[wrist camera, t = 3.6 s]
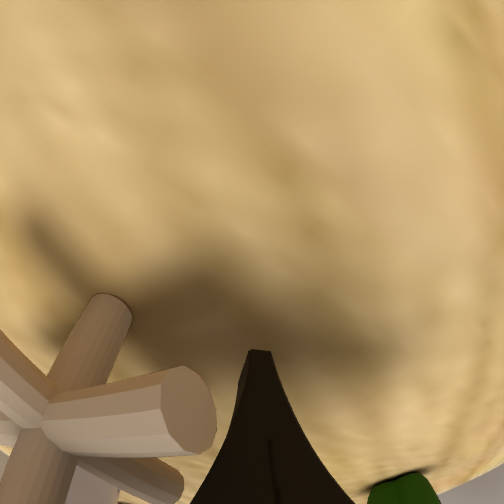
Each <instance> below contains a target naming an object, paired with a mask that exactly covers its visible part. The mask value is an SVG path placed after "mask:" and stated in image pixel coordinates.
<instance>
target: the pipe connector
mask: <svg viewBox="0 0 504 504" xmlns="http://www.w3.org/2000/svg"><path fill="white" fill-rule="evenodd" d="M131 322H132V315H131V312H130V310H129V308H128V307H127V306H126V305H125V304H124V303H123V302H122V301H121V300H119V299H118V298H116V297H114V296H112V295H109V294H97V295H94V296H93V297H92V298H91V299H90V301H89V303H88V304H87V306H86V308H85V309H84V311H83V313H82V314H81V316H80V318H79V319H78V321H77V323H76V324H75V326H74V328H73V330H72V331H71V333H70V335H69V336H68V338H67V340H66V342H65V344H64V345H63V347H62V349H61V351H60V353H59V354H58V356H57V358H56V360H55V362H54V364H53V365H52V367H51V369H50V371H49V373H48V375H47V376H46V375H45V374H44V373H43V372H42V371H40V370H39V369H38V368H37V367H36V366H35V365H34V364H33V363H32V362H31V361H30V360H29V359H28V358H27V357H26V356H25V355H24V354H23V353H22V352H21V351H20V350H19V349H18V348H17V347H16V346H15V345H14V344H13V343H12V342H11V341H10V340H9V338H8V337H7V336H6V335H5V334H4V333H3V332H2V331H1V330H0V445H3V446H8V447H13V450H12V453H11V455H10V458H9V460H8V463H7V465H6V468H5V471H4V473H3V476H2V478H1V481H0V504H65V502H66V498H67V495H68V491H69V488H70V485H71V481H72V478H73V475H74V472H75V469H76V466H79V467H80V468H82V469H84V470H85V471H87V472H89V473H91V474H92V475H94V476H96V477H98V478H100V479H101V480H103V481H105V482H107V483H109V484H111V485H113V486H115V487H117V488H119V489H121V490H123V491H125V492H127V493H129V494H131V495H133V496H135V497H138V498H140V499H142V500H144V501H147V502H149V503H151V504H174V503H175V502H177V501H178V500H179V499H180V497H181V495H182V492H183V490H184V478H183V476H182V475H181V474H180V472H179V471H178V470H177V469H175V468H173V467H171V466H170V465H168V464H166V463H164V462H163V461H161V460H159V459H158V458H156V457H171V456H186V455H198V454H201V453H202V452H204V451H205V450H207V449H208V448H210V447H211V446H212V443H213V440H214V437H215V434H216V431H217V420H216V408H215V405H214V402H213V399H212V396H211V393H210V390H209V389H208V387H207V386H206V384H205V383H204V381H203V380H202V379H201V377H200V376H199V374H198V373H196V372H194V371H193V370H191V369H189V368H188V367H186V366H180V367H175V368H171V369H167V370H163V371H159V372H155V373H151V374H147V375H143V376H139V377H135V378H130V379H126V380H122V381H117V382H113V383H108V384H106V382H107V380H108V377H109V375H110V372H111V370H112V367H113V365H114V362H115V360H116V358H117V355H118V353H119V350H120V348H121V346H122V343H123V341H124V339H125V336H126V334H127V332H128V329H129V327H130V325H131Z"/></svg>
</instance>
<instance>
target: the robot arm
mask: <svg viewBox="0 0 504 504" xmlns="http://www.w3.org/2000/svg"><path fill="white" fill-rule="evenodd" d="M119 494H120V489H119V488H117V487H115V486H113V485H111V484H109V483H107V482H105V481H103V480H101V479H100V478H98V477H96V476H94V475H92V474H91V473H89V472H87V471H85V470H84V469H82V468H80V467H79V466H76V469H75V472H74V475H73V478H72V481H71V485H70V488H69V491H68V495H67V498H66V502H65V504H118V500H119ZM190 504H355V503H354V502H353V501H352V500H351V499H350V497H349V496H348V495H347V494H346V493H345V492H344V490H343V489H342V488H341V487H340V486H339V484H338V483H337V482H336V481H335V479H334V478H333V477H332V476H331V474H330V473H329V472H328V470H327V469H326V467H325V466H324V465H323V463H322V462H321V460H320V459H319V457H318V456H317V454H316V453H315V451H314V449H313V448H312V446H311V444H310V443H309V441H308V439H307V437H306V436H305V434H304V432H303V430H302V428H301V426H300V424H299V422H298V420H297V418H296V416H295V414H294V412H293V410H292V408H291V405H290V403H289V401H288V399H287V396H286V394H285V392H284V389H283V387H282V384H281V381H280V379H279V376H278V373H277V370H276V367H275V364H274V361H273V357H272V354H271V351H263V350H255V349H251V350H250V351H248V354H247V357H246V360H245V363H244V366H243V369H242V372H241V375H240V379H239V382H238V391H237V397H236V403H235V407H234V412H233V416H232V420H231V423H230V427H229V430H228V433H227V436H226V439H225V441H224V443H223V445H222V447H221V449H220V451H219V453H218V456H217V457H216V459H215V461H214V463H213V465H212V467H211V469H210V471H209V473H208V474H207V476H206V478H205V480H204V482H203V483H202V485H201V486H200V488H199V490H198V491H197V493H196V495H195V496H194V498H193V500H192V501H191V503H190Z"/></svg>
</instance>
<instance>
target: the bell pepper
mask: <svg viewBox="0 0 504 504" xmlns="http://www.w3.org/2000/svg"><path fill="white" fill-rule="evenodd" d="M367 504H441V502H440V500H439V498H438V496H437V495H436V493H435V491H434V489H433V487H432V486H431V484H430V483H429V481H428V480H427V478H425V477H424V476H423V475H422V474H420V473H411V474H408V475H404V476H402V477H400V478H398V479H396V480H392V481H387V482H384V483H382V484H379V485H377V486H375V487H373V488H372V490H371V492H370V495H369V497H368V502H367Z"/></svg>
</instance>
